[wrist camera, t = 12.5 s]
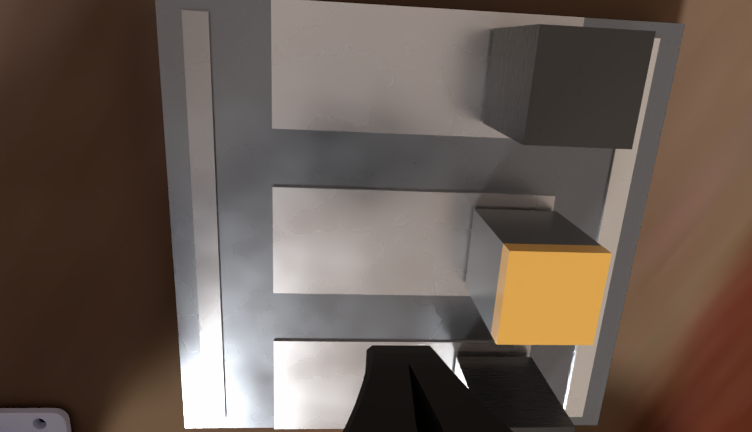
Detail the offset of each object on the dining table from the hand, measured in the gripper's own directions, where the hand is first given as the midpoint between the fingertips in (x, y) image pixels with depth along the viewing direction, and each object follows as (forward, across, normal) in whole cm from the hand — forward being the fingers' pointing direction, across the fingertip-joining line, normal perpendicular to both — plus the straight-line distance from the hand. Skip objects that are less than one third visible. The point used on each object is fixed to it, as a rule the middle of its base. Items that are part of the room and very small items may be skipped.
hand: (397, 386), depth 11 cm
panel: (+10, -2, 0) cm, 10 cm away
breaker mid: (+8, -5, 0) cm, 10 cm away
